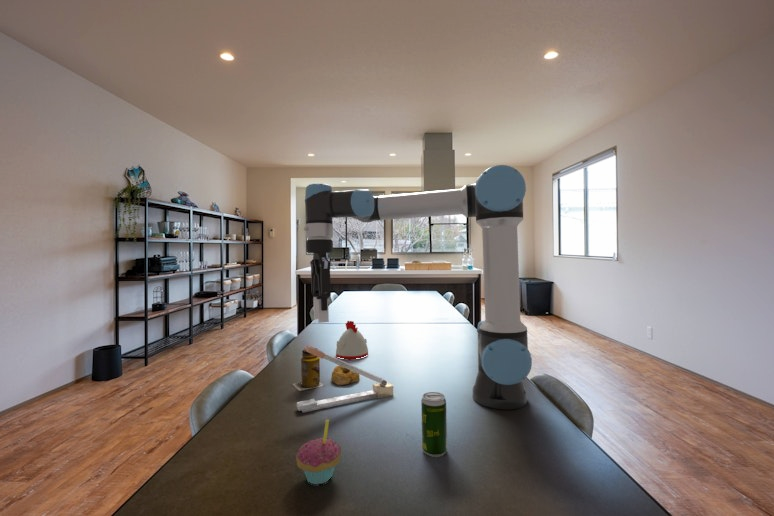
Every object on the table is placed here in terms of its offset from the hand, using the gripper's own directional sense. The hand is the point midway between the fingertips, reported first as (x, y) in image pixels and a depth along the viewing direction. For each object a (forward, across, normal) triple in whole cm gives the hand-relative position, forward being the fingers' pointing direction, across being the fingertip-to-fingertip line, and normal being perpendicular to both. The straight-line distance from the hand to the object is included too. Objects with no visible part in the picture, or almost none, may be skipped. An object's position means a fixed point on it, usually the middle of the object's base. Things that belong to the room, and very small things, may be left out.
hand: (321, 320), depth 101 cm
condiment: (+25, -19, 0) cm, 31 cm away
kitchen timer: (+25, -46, +25) cm, 58 cm away
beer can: (+25, +34, +16) cm, 45 cm away
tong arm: (+15, 0, +7) cm, 17 cm away
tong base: (+25, 0, +7) cm, 26 cm away
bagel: (+25, -18, +13) cm, 33 cm away
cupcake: (+25, +32, -9) cm, 42 cm away
